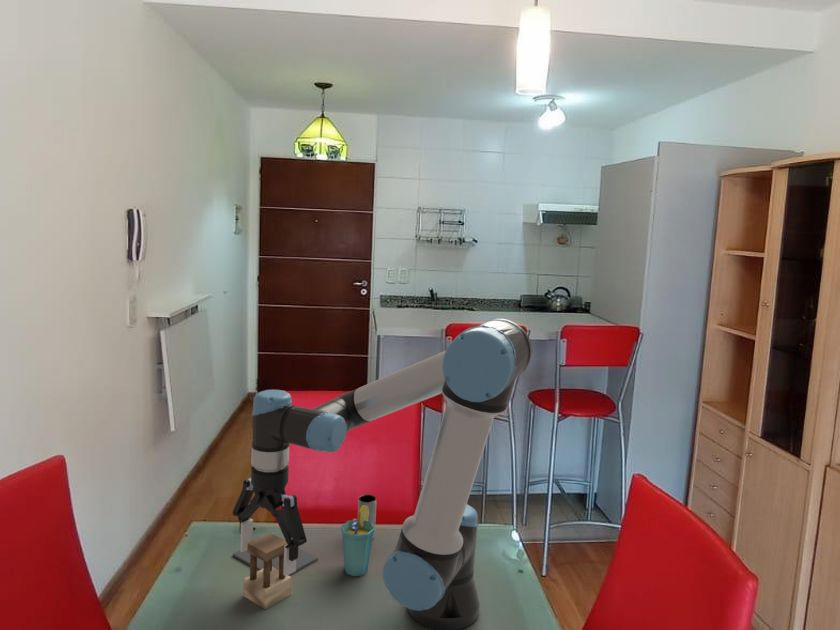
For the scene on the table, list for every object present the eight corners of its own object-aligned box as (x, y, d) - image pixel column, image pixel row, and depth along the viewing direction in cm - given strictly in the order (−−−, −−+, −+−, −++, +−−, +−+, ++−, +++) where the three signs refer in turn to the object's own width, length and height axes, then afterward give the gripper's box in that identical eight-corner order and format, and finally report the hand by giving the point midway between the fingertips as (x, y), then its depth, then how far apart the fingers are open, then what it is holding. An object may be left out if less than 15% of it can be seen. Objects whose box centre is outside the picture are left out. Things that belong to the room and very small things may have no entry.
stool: (288, 577, 137) (289, 542, 135) (266, 589, 132) (266, 553, 131) (269, 566, 140) (269, 532, 139) (247, 578, 135) (247, 543, 134)
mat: (317, 560, 151) (317, 557, 151) (278, 581, 142) (279, 579, 142) (272, 537, 161) (272, 534, 161) (232, 556, 151) (232, 553, 151)
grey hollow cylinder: (367, 530, 167) (369, 492, 165) (378, 537, 163) (380, 499, 162) (353, 535, 164) (355, 497, 162) (363, 542, 161) (365, 503, 159)
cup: (367, 591, 140) (370, 527, 138) (332, 587, 141) (334, 523, 138) (376, 557, 154) (379, 498, 152) (344, 554, 154) (346, 495, 152)
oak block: (291, 594, 137) (291, 577, 137) (265, 609, 132) (265, 591, 131) (269, 582, 141) (269, 565, 141) (243, 596, 136) (243, 578, 135)
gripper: (326, 477, 128) (322, 575, 131) (245, 444, 142) (243, 534, 146) (298, 489, 122) (295, 591, 125) (216, 453, 136) (215, 546, 140)
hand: (267, 560), depth 135 cm, fingers open, 13 cm apart
